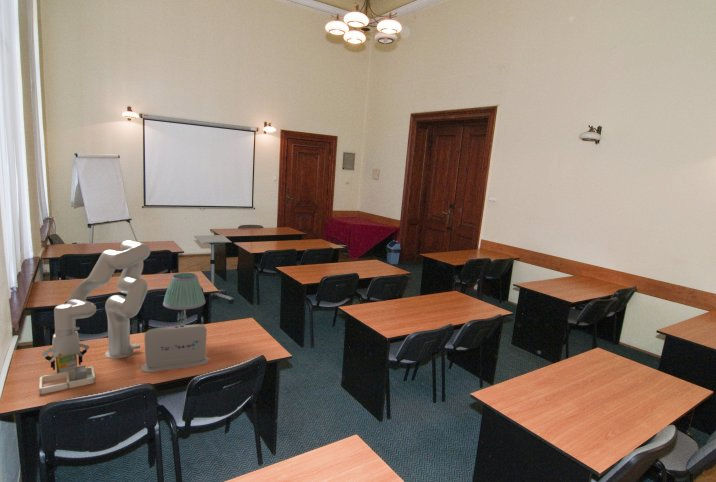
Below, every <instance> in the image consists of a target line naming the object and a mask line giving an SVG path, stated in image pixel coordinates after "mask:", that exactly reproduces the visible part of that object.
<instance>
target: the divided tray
mask: <svg viewBox="0 0 716 482" xmlns="http://www.w3.org/2000/svg"><path fill="white" fill-rule="evenodd" d="M95 383H96V374H95V370H94V366H93V365H92V366H89V367H86V379H81V380H76V381H75V370H71V371H66V372H61V373H57V372H56V373H51V374H46V375H40V376H39V384H38V385H39V386H38V389H39V390H38V392H39V394H38V395H44V394H49V393H54V392H57V391H59V392H60V391H63V390H68V389H72V388H73V389H74V388H77V387H81V386H86V385H90V384H91V385H92V384H95Z"/></svg>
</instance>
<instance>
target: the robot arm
mask: <svg viewBox="0 0 716 482" xmlns="http://www.w3.org/2000/svg"><path fill="white" fill-rule="evenodd" d="M151 251H152V250H151V247H150V246H149V245H148V244H147V243H144V242H139V241H136V240H132V239H131V240H130V239H127V240H123V241H122V242H121V244H120V248H119V250H115V249H105V250H104V251H102V253H101V254H100V256H99V258H98V260H97V261H96V263H95V265H94V267H93V268H92V270H91V272H90V273H89V275H88V276H87V277H86V278H85V279H84V280H82V281H81V282H80V283H79V284H78V285H76V287H75V288H74V289H73V290H72V292H71V293H70V295H69V297H68V299H67V300H66V303H63V304H62V303H61V304H59V305H56V306H55V307H54V309H53V314H54V315H53V316H54V334H53V335H52V341H51V342H52V346H51V348H49V349H46V350H45V351H43V352H42V357H43V358H45V360H47V361H49V363H50V368H52V370H53V371H54V370H55V371H56V364H55V363H56V357H59V354H62V356H68V355H73V354H77V356H78V358H77V359H78V366H82V364H81V363H83V356H84V355H85V354H86V353H87V351H89V348H90V345H89V344H86V343H81V341H80V336H79V332H78V331H79V330H80V326H76V320H79V319H86V318H90V317H92V316H93V315H95V313H96V312H97V306H96V304H95V303H93V302H91V301H88V300H87V297H88V296H89V294H90V293H91V292H92V291H94V290H95V289H97V288H101V287H103V286H106V285H107V284H109V282H110V280H111V278H112V276H113V274H114V273H115V270H122V271H121V274H120V276H119V279H118V281H117V283H116V288H117V291H118V292H119V293H122V294H124V295H126V296H124V295H120V294H113V295H111V296H109V297H108V298H107V300H106V301H105V305H104V308H105V313H106V316H107V317H106V318H107V336H108V338H107V339H108V340H107V343H108V344H107V346H108V348H107V349H108V350H107V351H106V352H105V353H104V356H105V357H106V358H107V359H122V358H125V357H128V358H129V357H131V355H133V354H134V350H137V349H141V344H138V343H133V344H132V343H131V341H130V340H131V337H130V335H131V334H130V333H131V332H130V331H131V330H130V325H131V323H130V319H132V318H134V317H135V316H137V315H138V313H139V311H140V310H141V307H142V305H143V303H144V300H145V298H146V295H147V293H148V289H149V286H148V282H147V281H146V279H144V278H142V277H141V276H142V273H143V271H144V261H145V260H146V259H147V258H148V257H149V256H150V255H151ZM81 348H84V349H82V351H81ZM50 353H52V355H51V356H50V355H49V354H50Z"/></svg>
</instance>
